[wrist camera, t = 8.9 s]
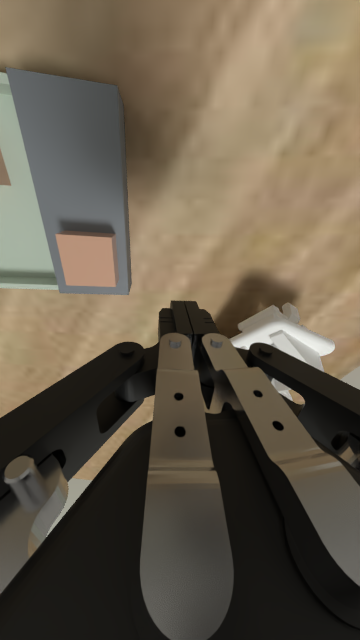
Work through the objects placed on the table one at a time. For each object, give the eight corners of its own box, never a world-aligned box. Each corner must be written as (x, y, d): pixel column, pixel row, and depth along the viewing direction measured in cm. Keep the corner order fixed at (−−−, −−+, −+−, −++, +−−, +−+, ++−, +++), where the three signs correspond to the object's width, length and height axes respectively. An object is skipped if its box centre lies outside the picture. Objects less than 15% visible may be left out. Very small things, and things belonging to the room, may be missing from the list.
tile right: (65, 230, 21) (55, 234, 19) (115, 233, 21) (111, 237, 19) (74, 277, 23) (66, 285, 21) (119, 279, 24) (115, 286, 22)
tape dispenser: (232, 355, 45) (232, 419, 37) (191, 335, 40) (181, 402, 33) (330, 315, 30) (364, 407, 22) (281, 276, 26) (301, 373, 18)
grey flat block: (32, 91, 18) (5, 67, 15) (123, 105, 19) (117, 85, 16) (71, 281, 27) (59, 293, 24) (131, 283, 28) (128, 294, 25)
